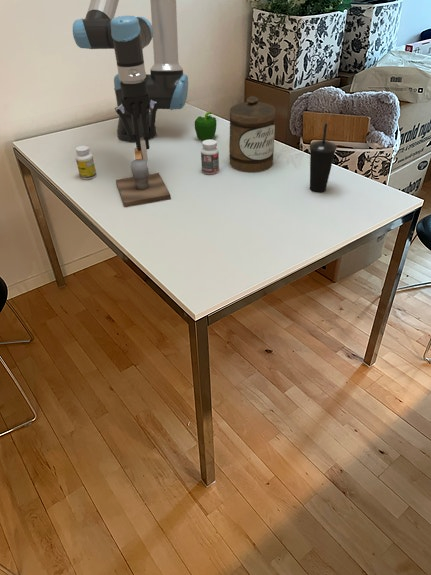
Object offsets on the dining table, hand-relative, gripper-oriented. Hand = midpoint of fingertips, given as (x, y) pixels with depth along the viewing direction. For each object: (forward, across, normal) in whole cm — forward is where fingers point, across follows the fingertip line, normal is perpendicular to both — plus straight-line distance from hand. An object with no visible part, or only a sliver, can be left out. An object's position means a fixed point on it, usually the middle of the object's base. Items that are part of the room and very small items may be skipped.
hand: (144, 159), depth 143 cm
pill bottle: (+8, +21, -2) cm, 22 cm away
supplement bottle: (+7, -18, +10) cm, 22 cm away
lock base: (+7, -3, -7) cm, 11 cm away
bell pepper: (+7, +29, +24) cm, 39 cm away
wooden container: (+8, +36, -2) cm, 37 cm away
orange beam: (+1, -2, -3) cm, 4 cm away
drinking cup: (+8, +47, -27) cm, 55 cm away
